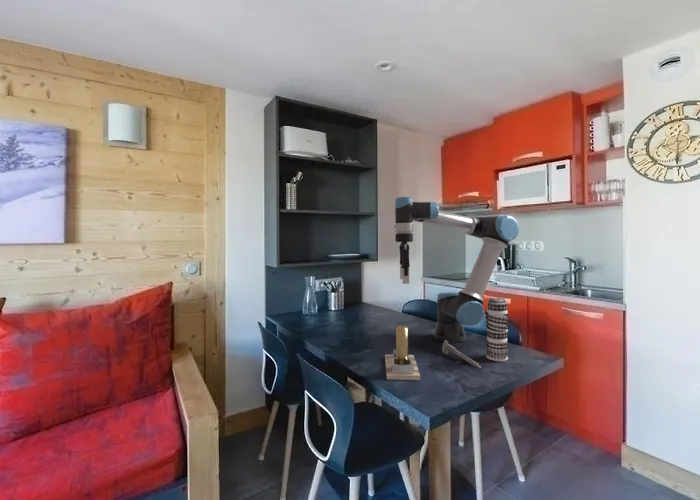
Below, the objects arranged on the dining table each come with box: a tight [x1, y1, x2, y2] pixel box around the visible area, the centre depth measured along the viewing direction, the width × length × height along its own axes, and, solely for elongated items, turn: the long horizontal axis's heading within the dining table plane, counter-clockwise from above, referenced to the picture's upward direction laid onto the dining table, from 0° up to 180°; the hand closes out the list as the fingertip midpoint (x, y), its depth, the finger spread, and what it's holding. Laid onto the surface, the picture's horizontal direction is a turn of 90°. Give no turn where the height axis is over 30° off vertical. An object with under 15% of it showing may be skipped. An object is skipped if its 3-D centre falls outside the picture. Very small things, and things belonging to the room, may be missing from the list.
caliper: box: [441, 340, 482, 369], centre depth 145 cm, size 20×1×6 cm, turn 29°
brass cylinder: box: [395, 325, 409, 365], centre depth 132 cm, size 4×4×16 cm
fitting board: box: [384, 349, 421, 381], centre depth 137 cm, size 22×12×4 cm, turn 176°
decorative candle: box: [484, 297, 510, 362], centre depth 147 cm, size 9×9×25 cm
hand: (404, 281), depth 154 cm, fingers open, 13 cm apart
